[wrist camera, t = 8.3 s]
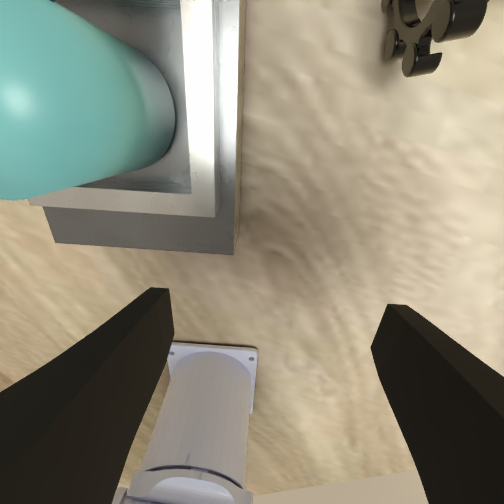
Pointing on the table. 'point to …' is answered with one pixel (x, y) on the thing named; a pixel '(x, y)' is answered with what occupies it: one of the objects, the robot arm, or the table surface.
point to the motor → (184, 138)
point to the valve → (429, 31)
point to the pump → (73, 102)
